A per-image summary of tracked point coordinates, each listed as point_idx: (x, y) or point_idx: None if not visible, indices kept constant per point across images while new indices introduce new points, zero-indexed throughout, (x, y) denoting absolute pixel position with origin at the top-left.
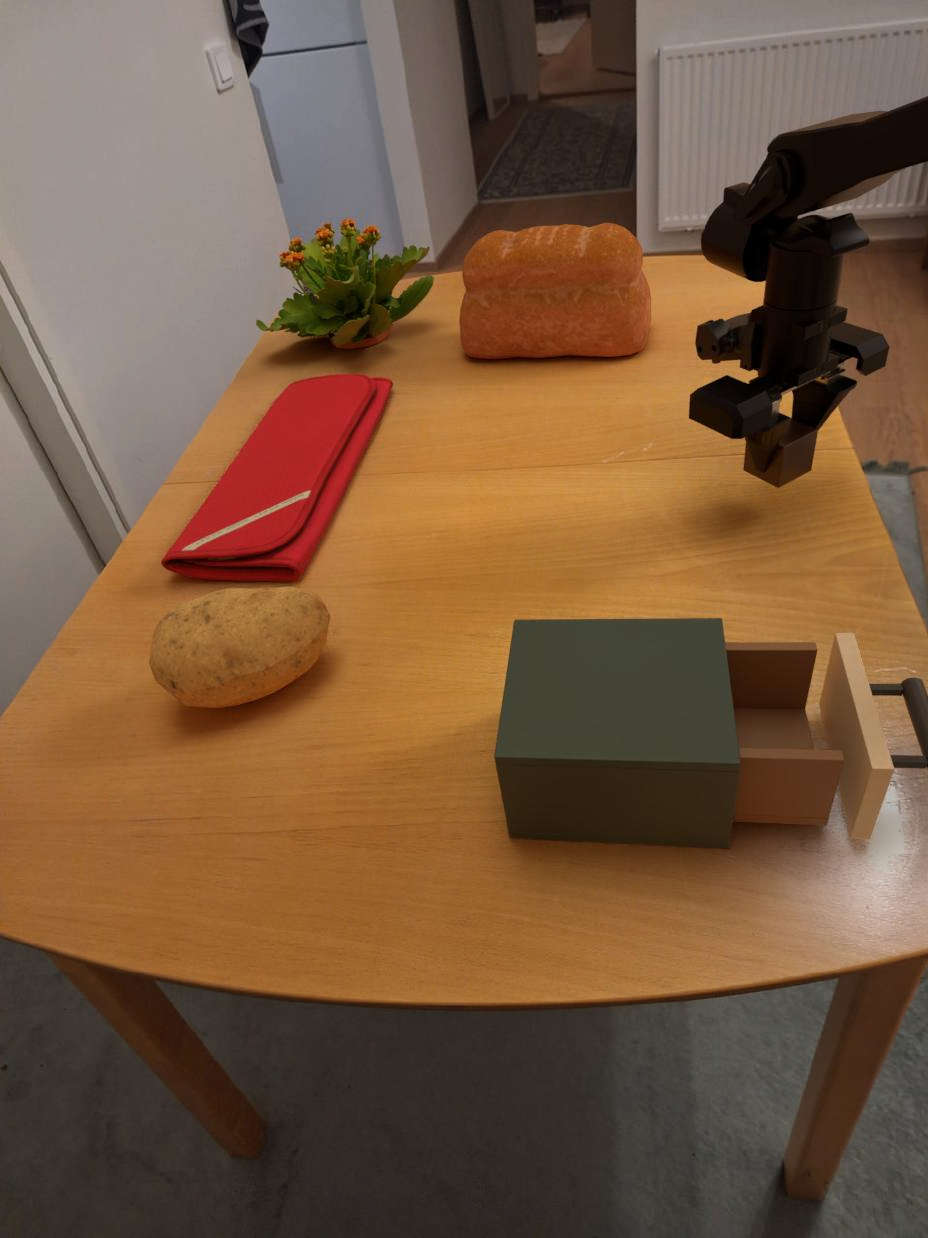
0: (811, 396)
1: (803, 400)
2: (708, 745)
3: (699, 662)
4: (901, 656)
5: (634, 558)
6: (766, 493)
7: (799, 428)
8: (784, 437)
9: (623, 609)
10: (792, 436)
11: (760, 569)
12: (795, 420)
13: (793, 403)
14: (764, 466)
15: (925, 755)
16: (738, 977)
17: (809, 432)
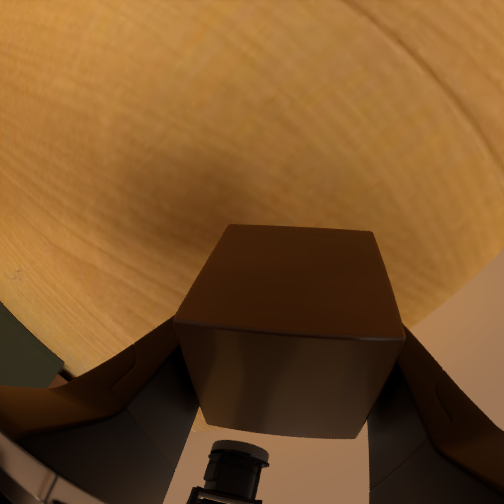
0: (397, 501)
1: (406, 466)
2: None
3: None
4: (197, 426)
5: (39, 197)
6: (320, 206)
7: (327, 421)
8: (247, 415)
9: (20, 258)
10: (269, 425)
11: (158, 323)
12: (373, 397)
13: (416, 421)
14: None
15: None
16: None
17: (324, 437)
